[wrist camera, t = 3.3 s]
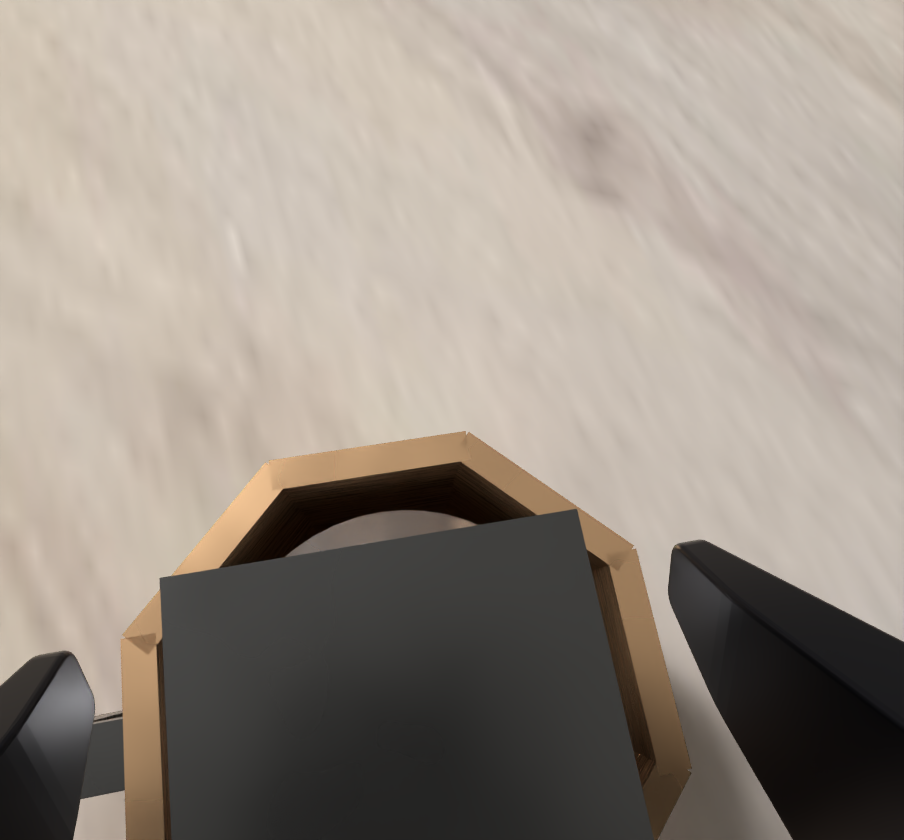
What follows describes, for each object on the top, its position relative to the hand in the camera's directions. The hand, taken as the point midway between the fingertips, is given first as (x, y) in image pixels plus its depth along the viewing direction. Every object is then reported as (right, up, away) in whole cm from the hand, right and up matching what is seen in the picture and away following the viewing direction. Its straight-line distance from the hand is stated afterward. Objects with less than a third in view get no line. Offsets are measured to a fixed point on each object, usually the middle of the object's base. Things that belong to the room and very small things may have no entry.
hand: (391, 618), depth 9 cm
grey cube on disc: (0, -3, +4) cm, 5 cm away
